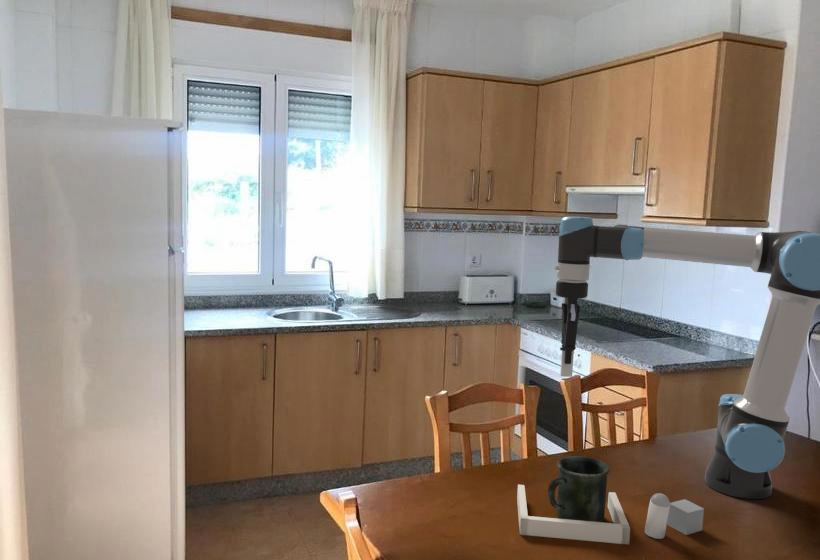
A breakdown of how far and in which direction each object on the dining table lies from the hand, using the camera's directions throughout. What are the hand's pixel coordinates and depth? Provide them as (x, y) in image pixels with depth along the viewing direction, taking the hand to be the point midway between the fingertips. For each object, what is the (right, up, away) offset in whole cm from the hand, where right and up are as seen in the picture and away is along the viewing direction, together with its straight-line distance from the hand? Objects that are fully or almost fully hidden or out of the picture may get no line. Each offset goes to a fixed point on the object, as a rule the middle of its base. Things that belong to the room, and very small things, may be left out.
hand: (566, 375), depth 167 cm
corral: (-4, -29, -19) cm, 35 cm away
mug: (-2, -29, -18) cm, 34 cm away
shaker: (+13, -30, -24) cm, 41 cm away
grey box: (+21, -30, -20) cm, 42 cm away
